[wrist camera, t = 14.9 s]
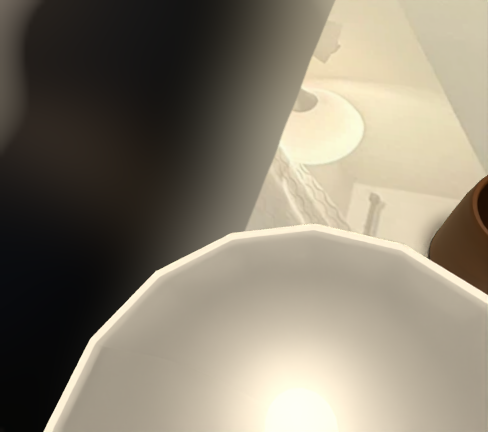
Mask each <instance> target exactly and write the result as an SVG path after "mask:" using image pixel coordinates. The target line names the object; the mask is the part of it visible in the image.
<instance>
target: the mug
mask: <svg viewBox="0 0 488 432" xmlns="http://www.w3.org/2000/svg"><path fill="white" fill-rule="evenodd" d="M430 259H431V261H433V262H434V263H436V264H438V265H439V266H441V267H443V268H444V269H446V270H447V271H449V272H451V273H452V274H454V275H456V276H457V277H459V278H461V279H462V280H464V281H466V282H467V283H469V284H470V285H472V286H474V287H475V288H477V289H479V290H480V291H482V292H484V293H485V294H487V295H488V175H487V176H486V177H484V178H483V179H482V180H481V181H479V182H478V183H477V184H476V185H475V187H473V188H472V189H471V190H470V191H469V192H468V193H467V194H466V196H465V197H464V198H463V199H462V200H461V202H460V203H459V204H458V206H457V207H456V208H455V209H454V211H453V212H452V213H451V214H450V216H449V217H448V218H447V220H446V221H445V222H444V224H443V225H442V226H441V228H440V229H439V230H438V231H437V233H436V234H435V236H434V238H433V240H432V243H431V247H430Z"/></svg>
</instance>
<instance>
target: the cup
mask: <svg viewBox="0 0 488 432" xmlns="http://www.w3.org/2000/svg"><path fill="white" fill-rule="evenodd" d="M44 432H488V295H487V294H485V293H484V292H482V291H480V290H479V289H477V288H475V287H474V286H472V285H470V284H469V283H467V282H466V281H464V280H462V279H461V278H459V277H457V276H456V275H454V274H452V273H451V272H449V271H447V270H446V269H444V268H443V267H441V266H439V265H438V264H436V263H434V262H433V261H431V260H429V259H428V258H426V257H424V256H423V255H421V254H419V253H418V252H416V251H415V250H413V249H411V248H410V247H408V246H406V245H405V244H402V243H398V242H394V241H389V240H385V239H380V238H376V237H372V236H367V235H363V234H359V233H354V232H350V231H346V230H341V229H337V228H333V227H328V226H324V225H320V224H315V223H312V224H304V225H296V226H287V227H279V228H270V229H262V230H254V231H245V232H237V233H231V234H229V235H227V236H225V237H223V238H221V239H219V240H217V241H215V242H213V243H211V244H209V245H207V246H205V247H203V248H201V249H199V250H197V251H195V252H193V253H191V254H189V255H187V256H185V257H183V258H181V259H180V260H177V261H175V262H173V263H171V264H170V265H168V266H166V267H164V268H162V269H160V270H158V271H156V272H155V273H154V274H153V275H152V276H151V277H150V278H149V279H148V280H147V281H146V282H145V283H144V284H143V285H142V286H141V287H140V288H139V289H138V290H137V291H136V292H135V294H133V296H132V297H131V298H130V299H129V300H128V301H127V302H126V303H125V304H124V305H123V306H122V307H121V308H120V309H119V310H118V311H117V312H116V313H115V314H114V315H113V316H112V317H111V318H110V319H109V320H108V321H107V322H106V323H105V324H104V325H103V326H102V328H100V330H99V331H98V332H97V333H96V334H95V335H94V336H93V337H92V338H91V339H90V341H89V343H88V345H87V346H86V348H85V350H84V352H83V355H82V356H81V358H80V360H79V362H78V364H77V366H76V368H75V370H74V372H73V375H72V376H71V378H70V381H69V382H68V384H67V386H66V388H65V390H64V392H63V394H62V396H61V398H60V400H59V402H58V404H57V406H56V408H55V410H54V412H53V414H52V416H51V418H50V420H49V422H48V424H47V426H46V428H45V430H44Z"/></svg>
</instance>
